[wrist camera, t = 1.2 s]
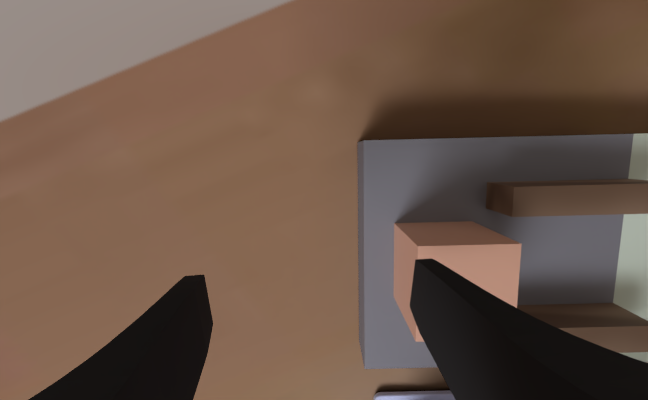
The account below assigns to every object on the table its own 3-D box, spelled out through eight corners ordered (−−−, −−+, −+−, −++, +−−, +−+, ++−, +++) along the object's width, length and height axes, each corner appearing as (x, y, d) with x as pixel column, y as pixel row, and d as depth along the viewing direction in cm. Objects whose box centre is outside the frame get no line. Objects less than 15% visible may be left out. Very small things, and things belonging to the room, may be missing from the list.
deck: (776, 330, 22) (846, 357, 19) (359, 340, 22) (364, 368, 19) (818, 131, 20) (904, 127, 17) (357, 142, 20) (363, 140, 17)
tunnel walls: (610, 325, 19) (653, 351, 16) (479, 329, 19) (502, 355, 16) (628, 178, 17) (678, 182, 15) (487, 182, 17) (514, 186, 15)
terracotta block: (468, 294, 18) (514, 339, 14) (393, 296, 18) (415, 341, 14) (472, 221, 18) (521, 243, 13) (394, 223, 18) (418, 246, 13)
